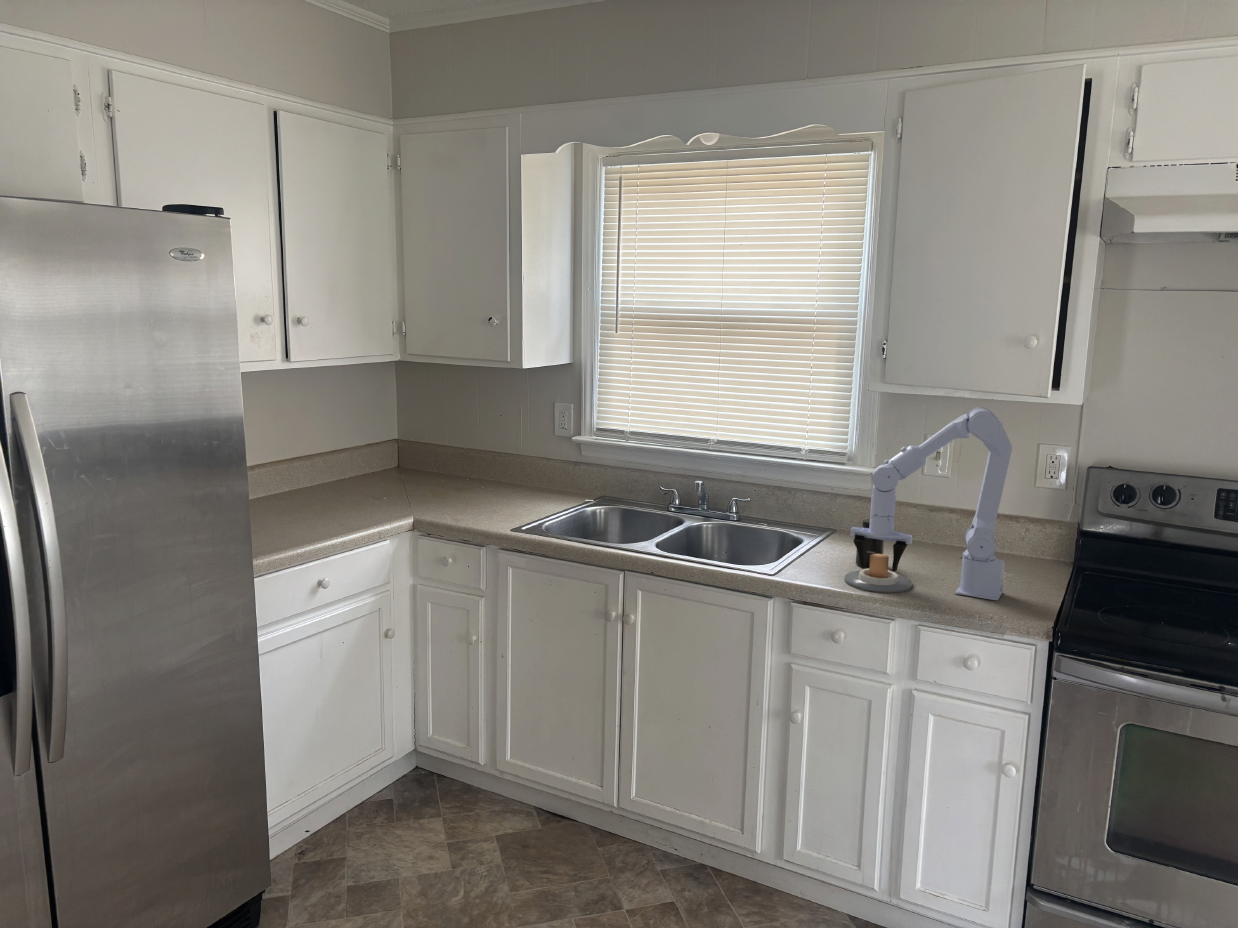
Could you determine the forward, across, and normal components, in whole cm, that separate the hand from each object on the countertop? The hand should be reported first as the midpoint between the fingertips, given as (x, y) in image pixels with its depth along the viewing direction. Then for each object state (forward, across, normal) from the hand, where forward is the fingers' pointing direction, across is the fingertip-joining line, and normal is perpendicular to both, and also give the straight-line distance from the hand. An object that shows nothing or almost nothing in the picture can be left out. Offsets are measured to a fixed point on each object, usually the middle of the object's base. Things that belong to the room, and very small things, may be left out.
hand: (878, 568), depth 222 cm
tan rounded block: (+3, 0, 0) cm, 3 cm away
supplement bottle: (+4, +6, -14) cm, 16 cm away
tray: (+4, 0, 0) cm, 4 cm away
